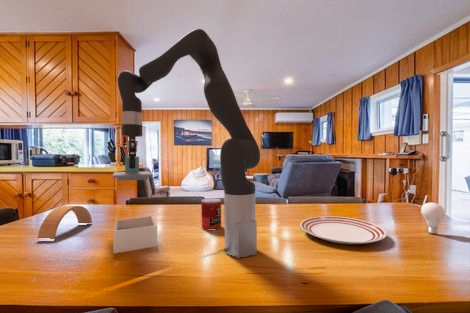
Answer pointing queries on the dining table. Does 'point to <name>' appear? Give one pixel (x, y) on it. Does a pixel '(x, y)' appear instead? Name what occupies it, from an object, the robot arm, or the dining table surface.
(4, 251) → the dining table surface
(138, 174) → the lid
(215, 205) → the canned food
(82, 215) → the arch
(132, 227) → the tub
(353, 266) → the dining table surface
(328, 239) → the dinner plate
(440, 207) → the lightbulb
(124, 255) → the dining table surface
